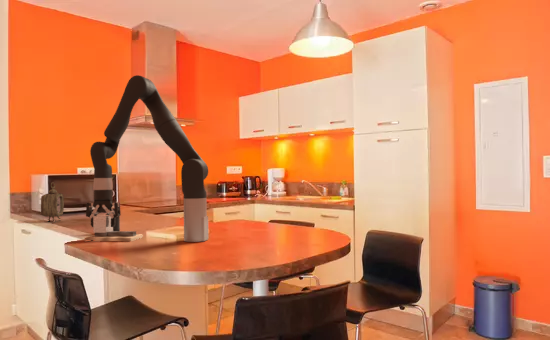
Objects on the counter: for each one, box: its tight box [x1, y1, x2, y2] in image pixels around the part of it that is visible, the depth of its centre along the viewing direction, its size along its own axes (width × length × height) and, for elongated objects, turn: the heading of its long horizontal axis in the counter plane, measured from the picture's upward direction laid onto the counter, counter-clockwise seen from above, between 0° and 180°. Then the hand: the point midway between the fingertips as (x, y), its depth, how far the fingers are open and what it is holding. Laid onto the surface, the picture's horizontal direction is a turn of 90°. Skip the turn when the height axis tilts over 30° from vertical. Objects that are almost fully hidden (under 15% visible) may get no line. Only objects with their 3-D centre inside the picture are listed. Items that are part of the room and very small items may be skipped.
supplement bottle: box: [105, 207, 121, 231], centre depth 186 cm, size 7×7×12 cm
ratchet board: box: [84, 230, 144, 242], centre depth 167 cm, size 20×11×8 cm, turn 84°
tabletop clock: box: [40, 181, 65, 222], centre depth 249 cm, size 14×9×25 cm, turn 12°
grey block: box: [92, 214, 113, 233], centre depth 168 cm, size 6×6×7 cm
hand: (103, 226), depth 168 cm, fingers open, 8 cm apart
